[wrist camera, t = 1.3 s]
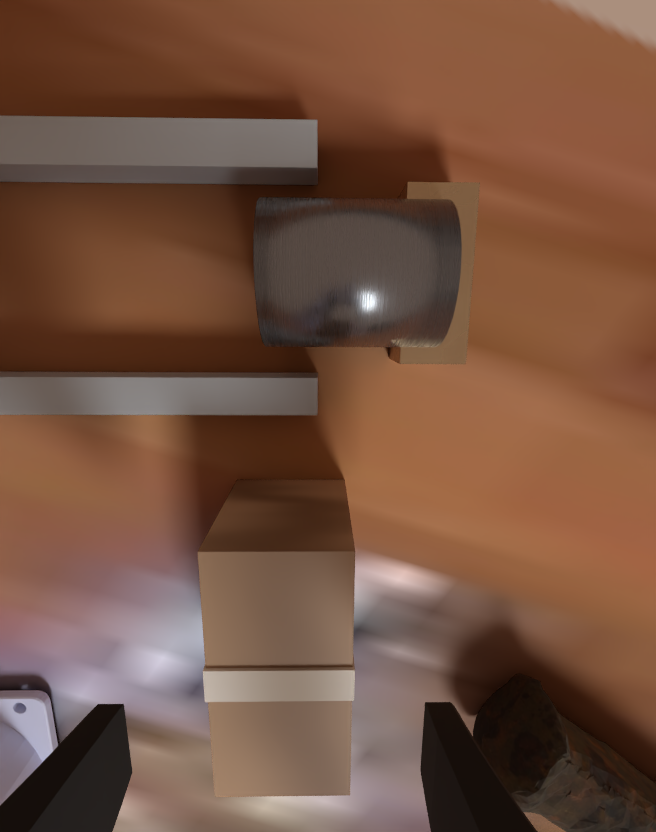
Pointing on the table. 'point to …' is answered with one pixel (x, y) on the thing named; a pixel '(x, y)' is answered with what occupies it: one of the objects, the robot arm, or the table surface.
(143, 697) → the table surface
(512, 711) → the dark brown rough bar
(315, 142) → the cradle
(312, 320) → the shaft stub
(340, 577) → the block
